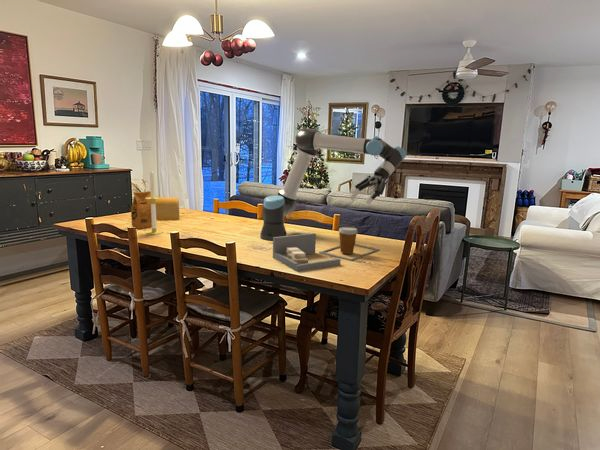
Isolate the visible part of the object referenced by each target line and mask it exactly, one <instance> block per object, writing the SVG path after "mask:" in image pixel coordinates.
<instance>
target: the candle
mask: <svg viewBox="0 0 600 450" xmlns="http://www.w3.org/2000/svg"><path fill="white" fill-rule="evenodd" d="M149 179H150V180H149V182H150V184H149V185H150V187H149V188H150V192H151V197H146V198H145V199H149V200H151V217H152V227H151V230H150V229H149V230H147V231H145V232H146V233H148V234H147V235H156V234H155V233H156V232H159V230H160V229H157V228H158V227H157V221H156V204H155V199H160V197H161V196H156V194H155V193H156V191H155V189H156V188H155V172H154V171H153V168H151V169H150V172H149ZM146 233H145V234H146Z"/></svg>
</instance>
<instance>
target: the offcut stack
mask: <svg viewBox="0 0 600 450" xmlns="http://www.w3.org/2000/svg"><path fill="white" fill-rule="evenodd" d="M284 256H285V257H287V258H289V259H291V260H293V261H295V262H297V263H298V264H305V263H309V259H308V258H307V257H306V254H305V253H304V252H303V251H301V250H300V249H299V248H297V247H286V253H285V255H284Z"/></svg>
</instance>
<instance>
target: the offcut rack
mask: <svg viewBox="0 0 600 450" xmlns="http://www.w3.org/2000/svg"><path fill="white" fill-rule="evenodd" d="M316 242H317V234H316V233H315V232H313V233H311V232H310V233H304V234H303V233H302V234H294V235H287V236H282V237H273V240H272V258H273V259H275V260H276V261H277V262H279V263H281V264H283V265H284V266H287V267H288V268H290V269H292V270H294V271H295V272H301V271H307V270H308V271H309V270H314V269H321V268H328V267H334V266H341V260H342V259H340V258H335V259H334V258H332V259H326V260H320V261H313V262H312V261H311V262H308V263H305V264H298V263H297V262H295V261H293V260H291V259H289V258H287V257H285V256H284V255H285V253H286V247H297V248H299V249H300V250H301V251H303V252H304V253H305V255H311V254H316Z"/></svg>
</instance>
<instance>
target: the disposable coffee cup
mask: <svg viewBox="0 0 600 450" xmlns="http://www.w3.org/2000/svg"><path fill="white" fill-rule="evenodd" d="M357 234H358V229H357V228H356V227H352V226H351V227H350V226H342V227H341V226H340V227H339V229H338V235H339V246H340V248H339V249H340V250H339V251H340V253H343V254H353V253H354V251H355V250H354V249H355V246H354V245H355V244H356V238H357Z"/></svg>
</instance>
